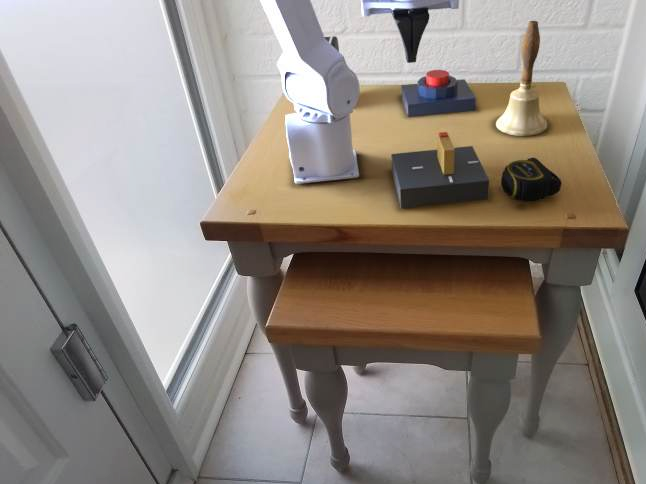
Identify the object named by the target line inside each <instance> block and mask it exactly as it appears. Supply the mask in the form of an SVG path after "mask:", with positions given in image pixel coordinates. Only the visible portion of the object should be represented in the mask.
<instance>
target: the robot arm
mask: <svg viewBox="0 0 646 484" xmlns="http://www.w3.org/2000/svg"><path fill="white" fill-rule="evenodd" d="M259 1H260V3H261V5H262V7H263V10H264V12H265V13H266V16H267V18H268V21H269V22H270V25H271V27H272V29H273V31H274V34H275V36H276V38H277V40H278V42H279V45H280V46H281V49H282V51H283V52H282V53H281V55H280V57H279V59H278V61H277V62H276V66H277V67H278V69H279V72H280V75H281V82H282V83H281V85H282V90H283V93H284V96H285V97H286V98H287V100H289V102H291V103H293V106H294V111H295V112H294V113H289V114H286V115H285V116H284V117H285V119H284V120H285V131H286V140H287V147H288V150H289V161H290V164H291V167H292V173H293V178H294V183H295V184H297V185H299V184H309V183H318V182H319V183H320V182H328V181H329V182H330V181H338V180H339V181H340V180H347V179H357V178H359V177H360V172H359V166H358V159H357V152H356V150H354V142H353V132H352V123H351V114H353V113H354V109H355V108H356V107H357V106H356V105H357V104H358V101H359V97H360V89H361V88H360V82H359V79H358V76H357V74H356V73H355V72H354V71H353V70H352V69H351V68H350V67H349V66H348V63H347V61H346V59H345V56H344V55H343V54H342V53H341V52H340V50H339V51H337V50H336V49H335V48H334V47H333V46H332V45H331V44H330V43H329V42H328V41H327V40H326V39H325V37H326V36H325V34H324V32H323V30H322V27H321V23H320V22H319V20H318V19H319V18H318V16H317V14H316V11H315V8H314V6H313V4H312V1H311V0H259ZM360 5H361V6H360V7H361V15H362V17H370V16H372V15H373V16H374V15H383V14H384V15H385V14H391V16H392V18H393V20H394V23H395V24H396V27H397V30H398V32H399V35H400V38H401V41H402V46H403V50H404V55H405V60H406V61H405V62H407V64H412V63H417V56H418V51H419V47H420V43H421V40H422V39H423V35H424V32H425V31H426V28H427V26H428V23H429V22H430V13H429V11H430V10H431V11H432V10H443V9H444V10H445V9H451V10H459V9H460V8H459V7H460V0H360Z"/></svg>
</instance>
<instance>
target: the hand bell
mask: <svg viewBox="0 0 646 484" xmlns="http://www.w3.org/2000/svg"><path fill="white" fill-rule="evenodd" d="M540 44H541V34H540V29H539V22H538V21H537V20H530V21H529V22H528V25H527V27H526V29H525V32H524V36H523V38H522V44H521V58H522V71H521V79H520V85H519V88H516V89H514V90H513V91H512V92H511V93H510V96H509V99H508V104H507V107H506V109H505V111H504V112H503V114H502V115H500V116H499V118H497V120H496V121H495V126H496V128H497V130H499V131H500V132H502V133H504V134H507V135H510V136H516V137H528V136H535V135H539V134H541V133H543V132H544V131H546V130H547V128H548V122H547V120H546V119H545V117H544V116H543V115H542V113H541V109H540V94H539V92H538V91H537V90H535V89H533V88H532V83H533V71H534V66H535V62H536V60H537V57H538V54H539V51H540V46H541V45H540Z"/></svg>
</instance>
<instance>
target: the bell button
mask: <svg viewBox="0 0 646 484" xmlns="http://www.w3.org/2000/svg"><path fill="white" fill-rule="evenodd" d="M449 75H450V72H449V71H447V70H445V69H432V70H429V71H427V72H426V73H425V76H426V84H427V85H429V86H435V87H438V86H445V85H447V84H449Z"/></svg>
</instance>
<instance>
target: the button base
mask: <svg viewBox="0 0 646 484" xmlns="http://www.w3.org/2000/svg"><path fill="white" fill-rule="evenodd" d="M400 93H401V94H400V97H401V100H402V103H403V106H404V108H405V112H406V114H407V117H408V118H409V117H410V118H411V117H420V116H430V115H441V114H451V113H452V114H453V113H460V112H472V111H476V106H477V97H476V96H475V94H474V92H473V90H472V89H471V87H470V86H469V83H468V82H467V80H466V78H464V79H463V78H462V79H457V78H456V77H455V76H452V75H450V74H449V84H447V85H445V86H438V87H435V86H429V85H427V84H426V75H425V76H422V77H420V78H419V79H418V80H417V83H411V84H401V85H400Z"/></svg>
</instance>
